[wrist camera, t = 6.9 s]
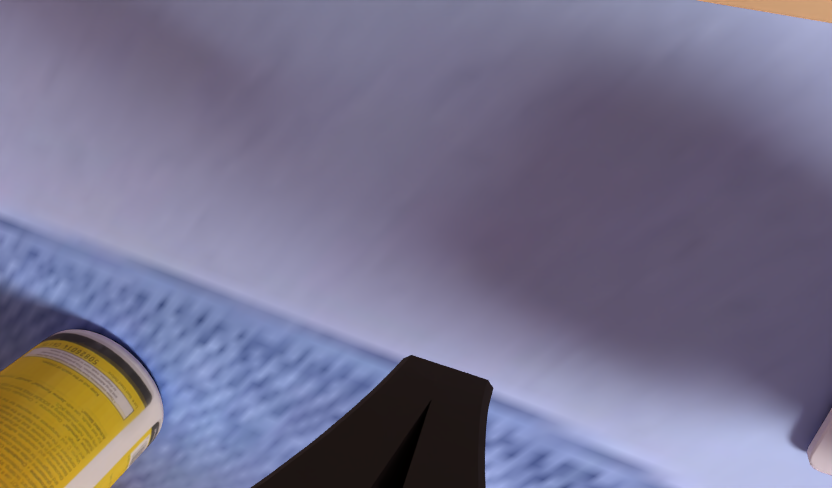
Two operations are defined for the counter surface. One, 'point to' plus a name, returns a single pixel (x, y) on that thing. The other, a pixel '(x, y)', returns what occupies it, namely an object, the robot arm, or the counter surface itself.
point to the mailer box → (786, 7)
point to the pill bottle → (75, 413)
